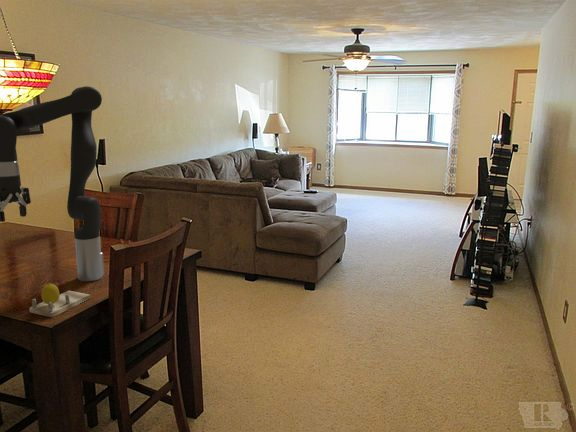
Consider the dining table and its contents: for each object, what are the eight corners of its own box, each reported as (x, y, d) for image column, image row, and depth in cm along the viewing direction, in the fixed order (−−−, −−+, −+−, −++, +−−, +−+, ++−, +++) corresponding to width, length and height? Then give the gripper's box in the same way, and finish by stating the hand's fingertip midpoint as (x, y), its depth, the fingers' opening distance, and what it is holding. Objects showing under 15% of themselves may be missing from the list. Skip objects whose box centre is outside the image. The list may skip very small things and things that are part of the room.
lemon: (39, 306, 161) (36, 284, 160) (54, 300, 166) (52, 279, 164) (48, 310, 158) (45, 287, 157) (63, 304, 163) (61, 282, 161)
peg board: (69, 294, 176) (68, 282, 174) (90, 298, 172) (89, 286, 171) (29, 312, 160) (28, 299, 159) (52, 317, 157) (50, 304, 156)
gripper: (17, 170, 174) (22, 213, 178) (-20, 175, 161) (-14, 222, 165) (32, 172, 172) (37, 215, 175) (-4, 177, 159) (2, 224, 162)
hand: (12, 218), depth 170 cm, fingers open, 8 cm apart
